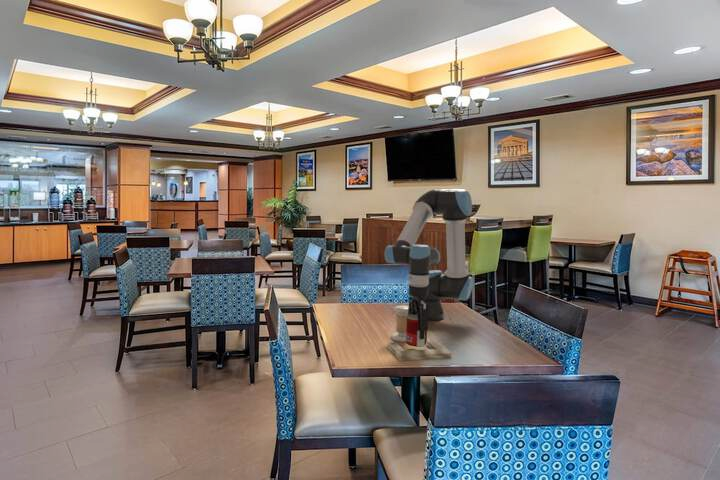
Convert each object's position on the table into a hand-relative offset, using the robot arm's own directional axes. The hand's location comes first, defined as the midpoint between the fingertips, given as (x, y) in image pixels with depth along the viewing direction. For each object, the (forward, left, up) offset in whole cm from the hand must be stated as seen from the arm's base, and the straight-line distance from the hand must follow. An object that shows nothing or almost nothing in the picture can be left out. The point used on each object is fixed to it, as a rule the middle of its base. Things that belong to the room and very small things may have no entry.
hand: (416, 343), depth 173 cm
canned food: (0, 0, 0) cm, 0 cm away
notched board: (0, +3, -3) cm, 4 cm away
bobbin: (0, -15, -3) cm, 16 cm away
